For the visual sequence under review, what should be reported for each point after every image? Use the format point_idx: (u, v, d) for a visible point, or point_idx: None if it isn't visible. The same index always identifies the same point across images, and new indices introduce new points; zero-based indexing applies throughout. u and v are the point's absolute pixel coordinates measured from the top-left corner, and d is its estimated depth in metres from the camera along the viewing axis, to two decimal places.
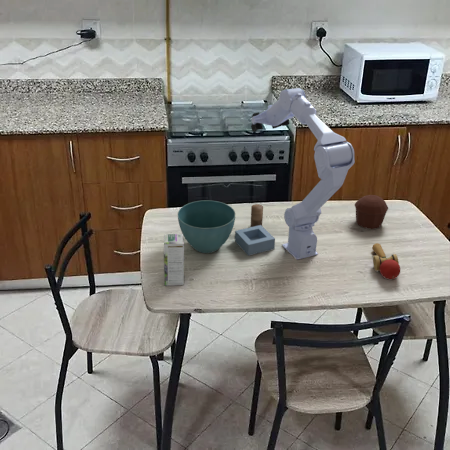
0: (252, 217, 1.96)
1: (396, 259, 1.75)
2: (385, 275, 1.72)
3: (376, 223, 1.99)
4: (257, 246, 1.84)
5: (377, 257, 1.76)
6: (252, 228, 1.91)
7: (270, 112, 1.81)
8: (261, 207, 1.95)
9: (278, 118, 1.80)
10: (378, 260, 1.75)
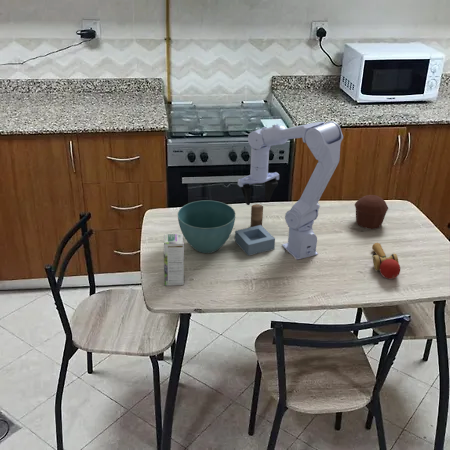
0: (252, 217, 1.96)
1: (396, 258, 1.75)
2: (385, 274, 1.72)
3: (376, 223, 1.99)
4: (257, 246, 1.84)
5: (377, 257, 1.76)
6: (252, 228, 1.91)
7: (251, 168, 1.87)
8: (261, 207, 1.95)
9: (259, 167, 1.85)
10: (378, 260, 1.75)
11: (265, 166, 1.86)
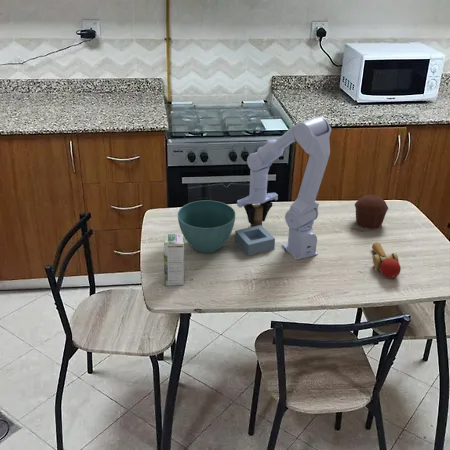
0: None
1: (396, 258, 1.76)
2: (385, 274, 1.72)
3: (376, 223, 1.99)
4: (257, 246, 1.84)
5: (377, 256, 1.76)
6: (252, 228, 1.91)
7: (250, 189, 1.91)
8: (261, 207, 1.95)
9: (258, 189, 1.89)
10: (378, 259, 1.76)
11: (264, 187, 1.90)
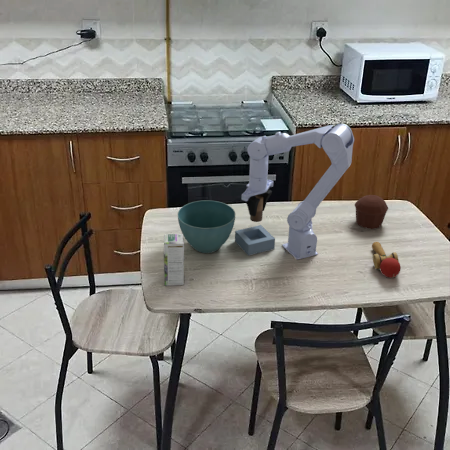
0: None
1: (396, 257, 1.76)
2: (385, 273, 1.73)
3: (376, 223, 1.99)
4: (257, 246, 1.84)
5: (377, 255, 1.77)
6: (252, 228, 1.91)
7: (252, 180, 1.81)
8: (261, 197, 1.87)
9: (262, 178, 1.80)
10: (378, 258, 1.76)
11: (266, 175, 1.81)
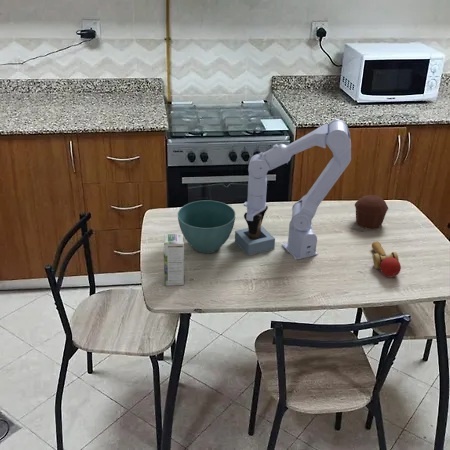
0: None
1: (396, 257, 1.76)
2: (386, 273, 1.73)
3: (376, 223, 1.99)
4: (257, 246, 1.84)
5: (377, 255, 1.77)
6: None
7: (253, 199, 1.78)
8: (259, 213, 1.85)
9: (263, 195, 1.78)
10: (378, 258, 1.76)
11: None
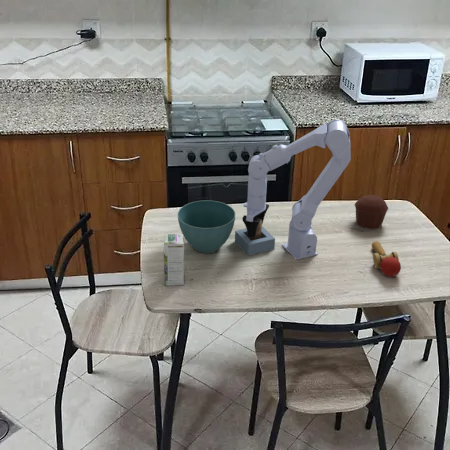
0: None
1: (396, 256, 1.76)
2: (386, 272, 1.73)
3: (376, 223, 1.99)
4: (257, 246, 1.84)
5: (377, 255, 1.77)
6: None
7: (253, 199, 1.78)
8: None
9: (263, 196, 1.78)
10: (378, 258, 1.76)
11: (265, 193, 1.79)
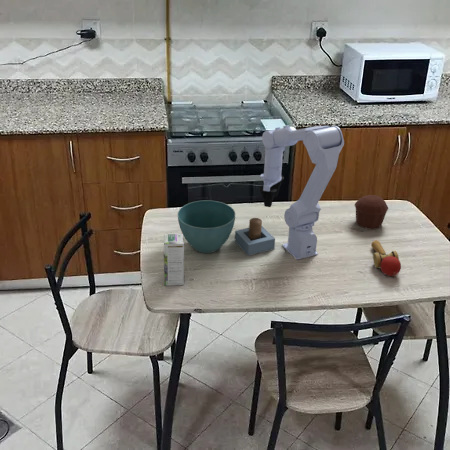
0: (254, 233, 1.85)
1: (396, 256, 1.77)
2: (386, 272, 1.73)
3: (376, 223, 1.99)
4: (257, 246, 1.84)
5: (377, 254, 1.77)
6: None
7: (269, 170, 1.88)
8: (259, 219, 1.86)
9: (279, 166, 1.87)
10: (379, 257, 1.77)
11: (277, 166, 1.87)
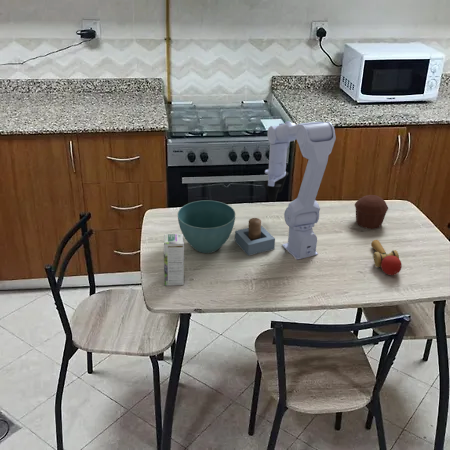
0: (254, 233, 1.85)
1: (397, 255, 1.77)
2: (387, 271, 1.74)
3: (376, 223, 1.99)
4: (257, 246, 1.84)
5: (378, 253, 1.78)
6: None
7: (274, 166, 1.91)
8: (258, 219, 1.86)
9: (283, 162, 1.91)
10: (379, 256, 1.77)
11: (280, 162, 1.90)
